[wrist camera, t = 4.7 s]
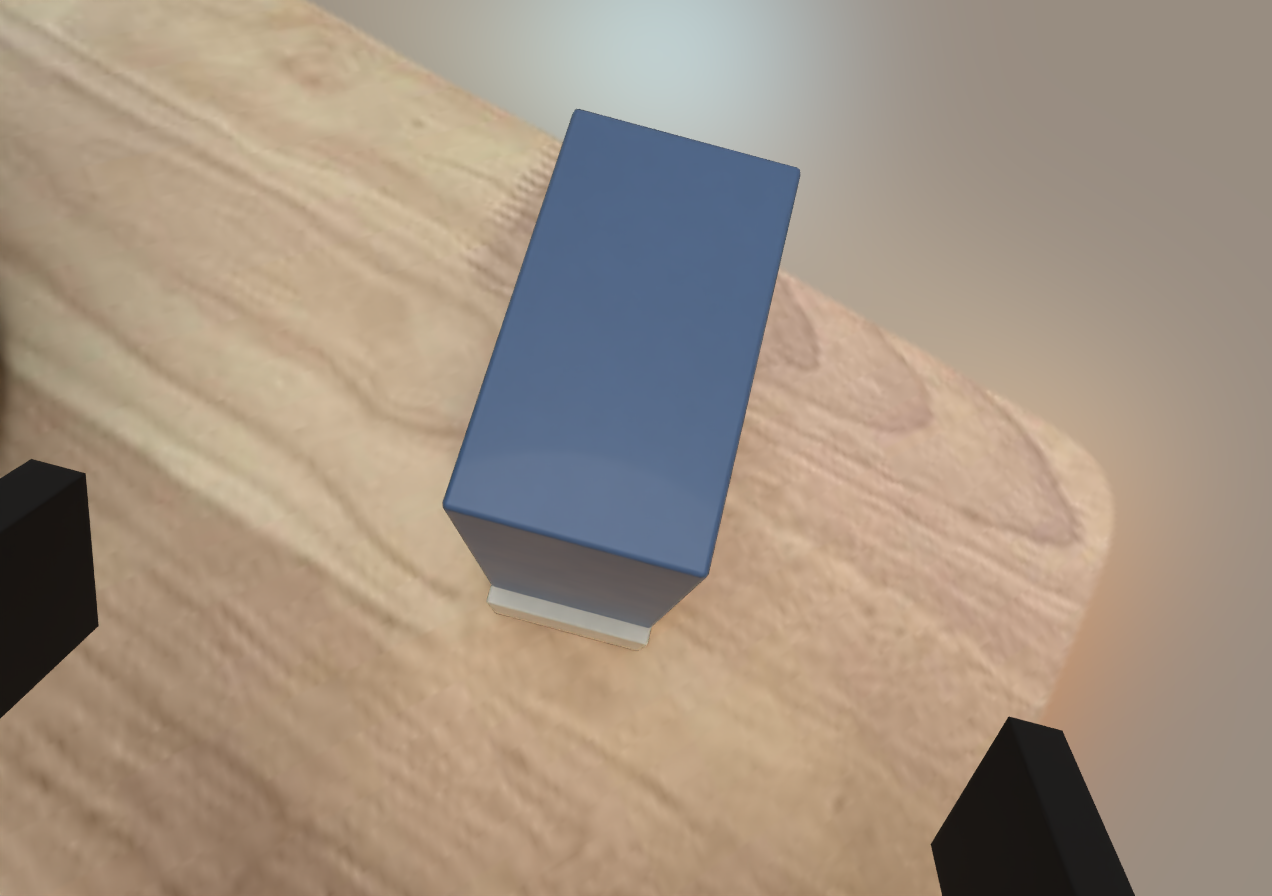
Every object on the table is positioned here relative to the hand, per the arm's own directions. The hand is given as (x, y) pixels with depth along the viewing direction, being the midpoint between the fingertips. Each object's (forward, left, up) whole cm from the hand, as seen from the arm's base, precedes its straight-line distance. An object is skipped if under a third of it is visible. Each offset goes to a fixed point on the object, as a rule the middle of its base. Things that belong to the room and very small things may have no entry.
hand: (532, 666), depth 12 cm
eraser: (+3, -4, -11) cm, 12 cm away
